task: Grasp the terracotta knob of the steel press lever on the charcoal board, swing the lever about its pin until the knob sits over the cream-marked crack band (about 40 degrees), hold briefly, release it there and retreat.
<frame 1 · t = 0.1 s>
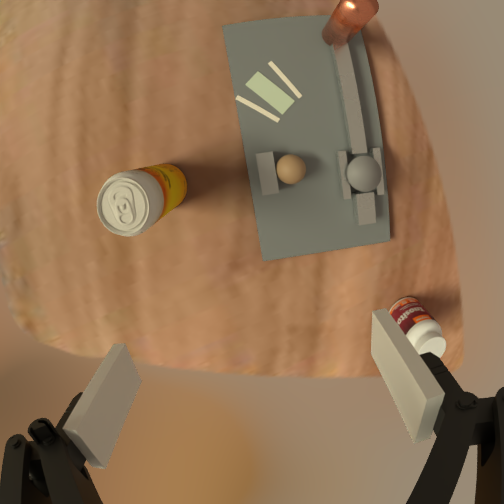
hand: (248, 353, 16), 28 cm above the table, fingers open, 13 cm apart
press: (355, 171, 40), on the table
lever: (366, 115, 31), point 7 cm above the table, hinge at 0.0°
beer can: (166, 185, 41), on the table
pill bottle: (402, 312, 47), on the table
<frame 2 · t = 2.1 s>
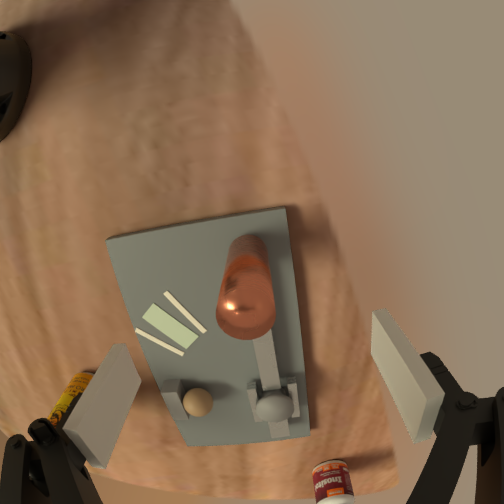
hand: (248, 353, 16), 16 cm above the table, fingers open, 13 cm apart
press: (273, 387, 37), on the table
lever: (268, 387, 28), point 7 cm above the table, hinge at 0.0°
beer can: (93, 384, 38), on the table
pill bottle: (329, 467, 44), on the table
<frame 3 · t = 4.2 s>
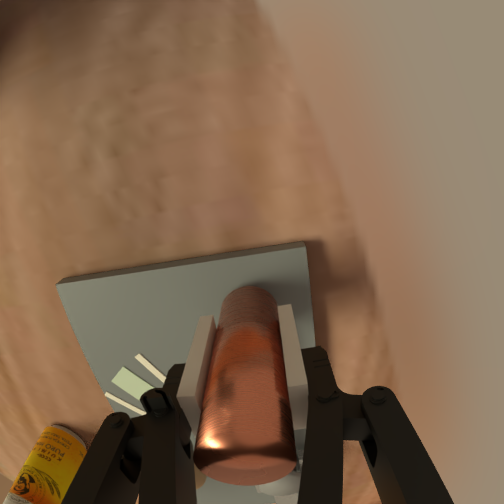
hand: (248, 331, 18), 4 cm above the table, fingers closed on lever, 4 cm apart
press: (280, 455, 27), on the table
lever: (275, 480, 18), point 7 cm above the table, hinge at 0.0°, touching gripper
beer can: (68, 437, 28), on the table
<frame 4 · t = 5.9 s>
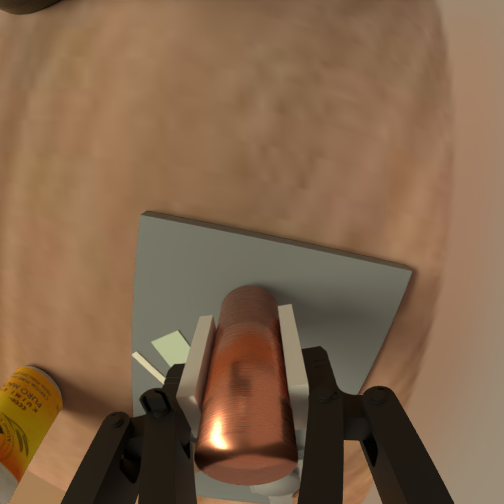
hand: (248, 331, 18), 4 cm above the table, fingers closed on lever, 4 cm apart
press: (275, 455, 27), on the table
lever: (271, 481, 18), point 7 cm above the table, hinge at 19.8°, touching gripper
beer can: (42, 384, 25), on the table
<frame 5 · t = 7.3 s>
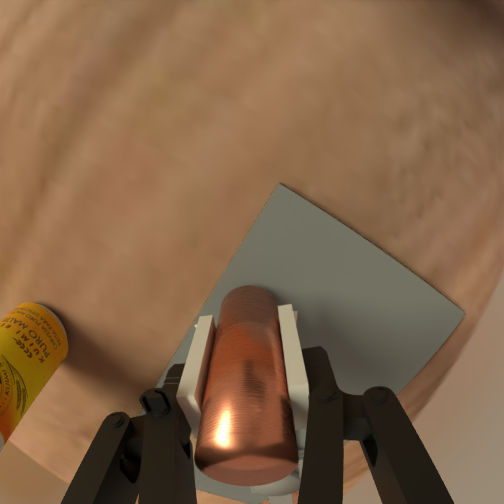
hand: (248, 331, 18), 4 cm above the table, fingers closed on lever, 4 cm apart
press: (275, 455, 27), on the table
lever: (271, 481, 18), point 7 cm above the table, hinge at 38.8°, touching gripper
beer can: (45, 328, 23), on the table
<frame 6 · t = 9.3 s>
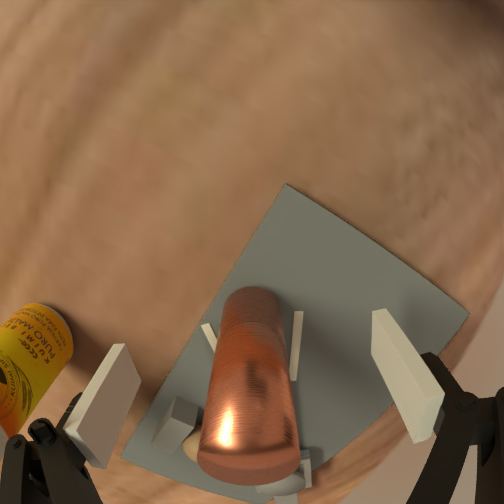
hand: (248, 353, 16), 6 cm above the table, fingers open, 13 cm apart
press: (280, 455, 27), on the table
lever: (276, 481, 18), point 7 cm above the table, hinge at 39.5°
beer can: (50, 328, 23), on the table
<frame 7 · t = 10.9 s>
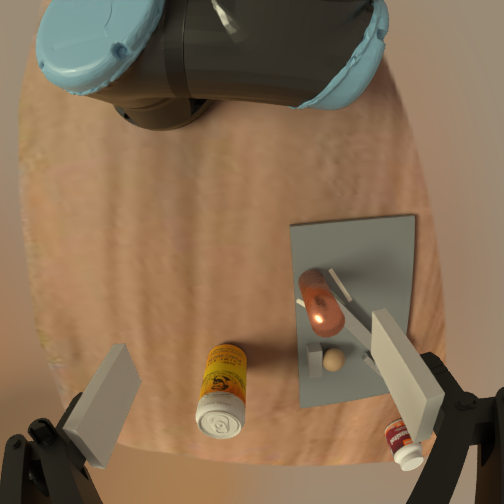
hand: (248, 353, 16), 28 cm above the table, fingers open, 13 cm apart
press: (380, 348, 48), on the table
lever: (371, 350, 40), point 7 cm above the table, hinge at 39.5°
beer can: (227, 356, 48), on the table
pill bottle: (396, 426, 54), on the table
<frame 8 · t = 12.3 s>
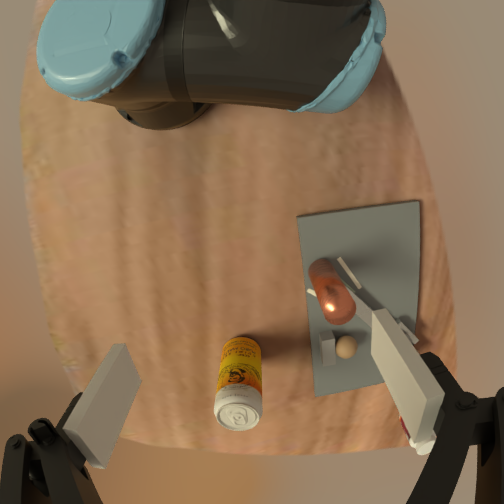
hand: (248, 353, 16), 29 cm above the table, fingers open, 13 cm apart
press: (391, 333, 48), on the table
lever: (383, 336, 40), point 7 cm above the table, hinge at 39.5°
beer can: (241, 349, 50), on the table
pill bottle: (410, 411, 55), on the table
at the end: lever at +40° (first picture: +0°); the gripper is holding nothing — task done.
